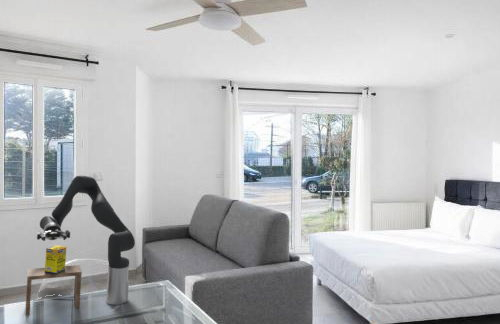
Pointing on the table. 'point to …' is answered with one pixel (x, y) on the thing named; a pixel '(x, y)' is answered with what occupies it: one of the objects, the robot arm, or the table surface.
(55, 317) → the table surface
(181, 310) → the table surface
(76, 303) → the walnut shelf
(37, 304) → the table surface
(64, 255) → the supplement box
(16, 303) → the table surface
